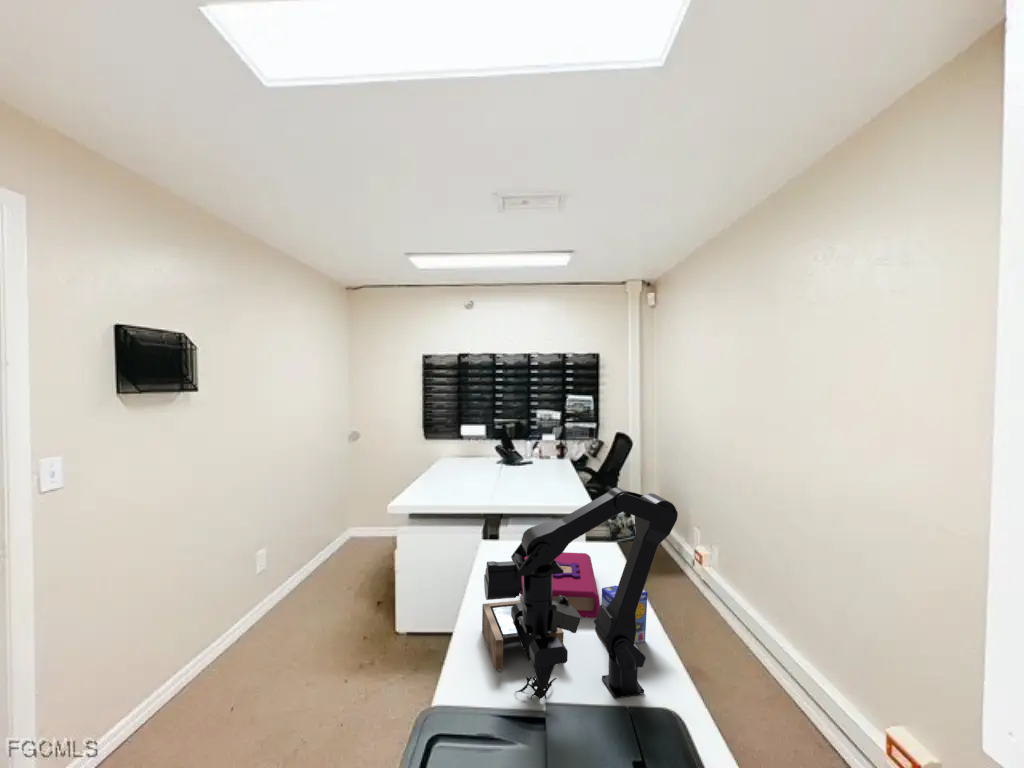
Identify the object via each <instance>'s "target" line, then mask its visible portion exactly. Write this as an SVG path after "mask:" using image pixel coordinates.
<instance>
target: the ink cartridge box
mask: <svg viewBox="0 0 1024 768" xmlns="http://www.w3.org/2000/svg"><path fill="white" fill-rule="evenodd" d="M617 588H618V585H615V584H614V585H611V586H607V587H606V586H605V587H602V588H601V602H600V605H603V606H605V607H607V606H608V605H609V604H610V603H611V602H612V601H613V599H614V596H615V593H616V591H617ZM648 594H649V593H648V591H647V590H646V589H645V588H644V589H643V592H642V595H641V598H640V601H639V604H638V607H637V610H636V630H637V632H636V638H635V644H639V643H643V642H645V641H646V630H647V611H648V610H647V609H648Z"/></svg>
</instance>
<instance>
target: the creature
mask: <svg viewBox="0 0 1024 768" xmlns="http://www.w3.org/2000/svg"><path fill="white" fill-rule="evenodd" d="M533 672H534V673H533V676H529V677H528V676H526V677H525V680H526V684H525V685H524V686H523V687H522V688H521V689H519V690H516V691H515V693H520V692H521V693H523V692H525V690H526V689H527V688H528V686H529V687H530V688H532V690H533V691H534V692H533V694H532V695H530V699H532V700H533V698H532V697H536V698H537V699H538V700H539V701H540V700H541V699H543V698H547V693H548V691H549V690H550V688H551V686H553V684H552V683H554V682H555V680H558V679H557V677H554V678H553V679H551V680H549V683H548V686H547V688H546V689H541V688H540V686H539V683H538V680H537V677H536V674H535V671H534V670H533ZM530 681H531V684H530ZM526 697H527V698H529V696H528V695H526Z"/></svg>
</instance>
